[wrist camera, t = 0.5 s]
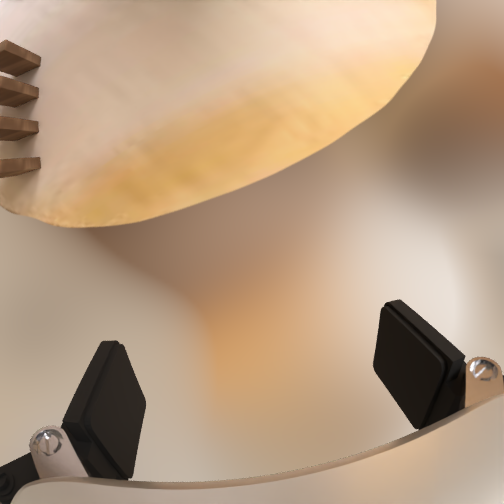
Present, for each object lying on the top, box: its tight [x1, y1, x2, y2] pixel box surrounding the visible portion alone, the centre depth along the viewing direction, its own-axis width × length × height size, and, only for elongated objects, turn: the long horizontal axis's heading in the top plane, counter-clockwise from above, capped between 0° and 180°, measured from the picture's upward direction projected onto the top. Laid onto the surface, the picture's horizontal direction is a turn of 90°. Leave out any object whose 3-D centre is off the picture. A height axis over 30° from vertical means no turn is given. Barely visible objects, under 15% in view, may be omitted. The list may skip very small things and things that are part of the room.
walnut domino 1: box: [0, 40, 41, 77], centre depth 23 cm, size 2×5×10 cm, turn 94°
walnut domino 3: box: [0, 116, 39, 141], centre depth 26 cm, size 2×5×10 cm, turn 95°
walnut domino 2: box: [0, 76, 39, 108], centre depth 24 cm, size 2×5×10 cm, turn 94°
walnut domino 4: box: [0, 157, 41, 178], centre depth 28 cm, size 2×5×10 cm, turn 94°
